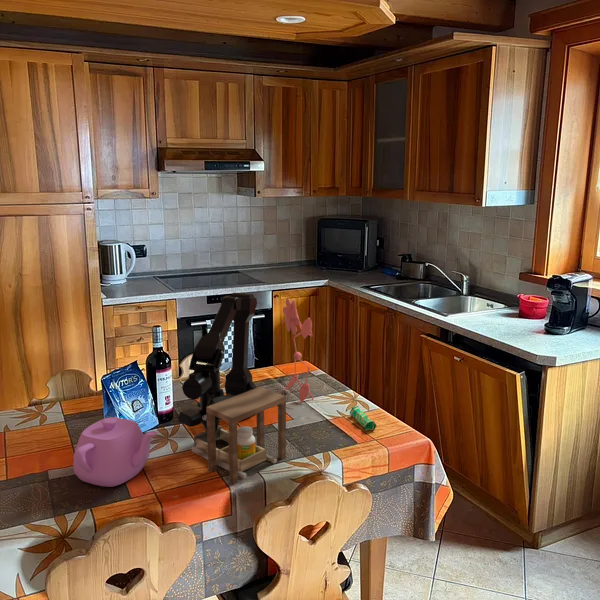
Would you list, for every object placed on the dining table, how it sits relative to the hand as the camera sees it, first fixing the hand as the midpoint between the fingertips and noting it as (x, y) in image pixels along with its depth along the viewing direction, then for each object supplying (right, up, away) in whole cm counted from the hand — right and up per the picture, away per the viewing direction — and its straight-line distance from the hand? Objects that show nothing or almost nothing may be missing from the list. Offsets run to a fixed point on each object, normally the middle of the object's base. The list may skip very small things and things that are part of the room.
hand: (211, 437), depth 172 cm
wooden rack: (+6, -3, -5) cm, 8 cm away
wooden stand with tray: (+7, -4, -6) cm, 10 cm away
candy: (+45, 0, +16) cm, 47 cm away
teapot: (-23, -6, -15) cm, 28 cm away
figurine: (+22, +6, +35) cm, 42 cm away
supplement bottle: (+10, -5, -9) cm, 14 cm away
